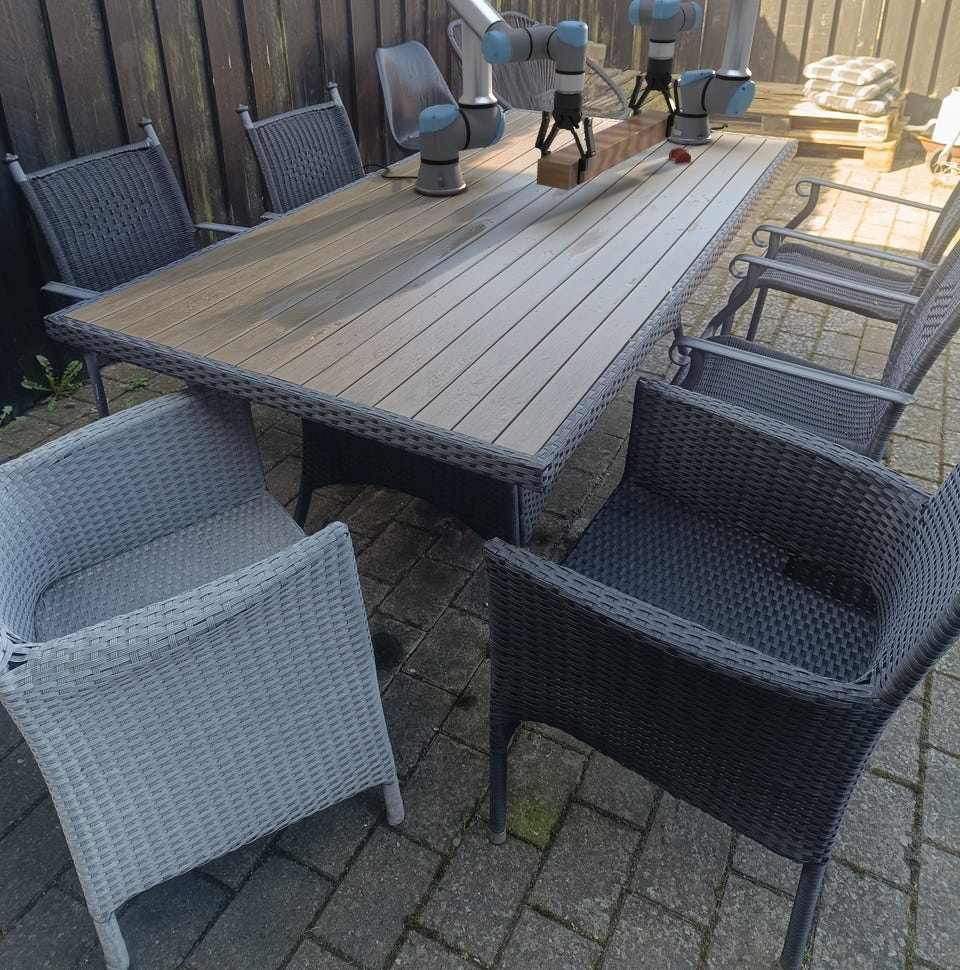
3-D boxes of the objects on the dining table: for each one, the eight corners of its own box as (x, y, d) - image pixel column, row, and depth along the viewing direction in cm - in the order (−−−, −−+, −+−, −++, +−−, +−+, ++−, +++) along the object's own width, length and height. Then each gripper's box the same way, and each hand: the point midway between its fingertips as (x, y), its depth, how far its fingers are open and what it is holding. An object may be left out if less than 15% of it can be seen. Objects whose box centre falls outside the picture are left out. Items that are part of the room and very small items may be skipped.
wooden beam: (568, 190, 222) (570, 165, 218) (536, 184, 226) (537, 159, 223) (673, 135, 270) (676, 113, 266) (645, 130, 274) (648, 109, 270)
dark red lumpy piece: (683, 144, 286) (693, 150, 280) (681, 156, 289) (692, 163, 282) (667, 145, 285) (678, 152, 279) (666, 158, 288) (676, 165, 281)
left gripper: (615, 93, 212) (606, 183, 226) (538, 82, 222) (534, 169, 235) (601, 99, 207) (593, 190, 221) (523, 87, 217) (520, 176, 230)
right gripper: (700, 58, 252) (690, 136, 265) (631, 52, 262) (624, 127, 275) (691, 62, 247) (681, 142, 260) (621, 55, 257) (614, 132, 270)
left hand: (563, 179), depth 228 cm, fingers closed on wooden beam, 10 cm apart
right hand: (652, 134), depth 268 cm, fingers closed on wooden beam, 10 cm apart
